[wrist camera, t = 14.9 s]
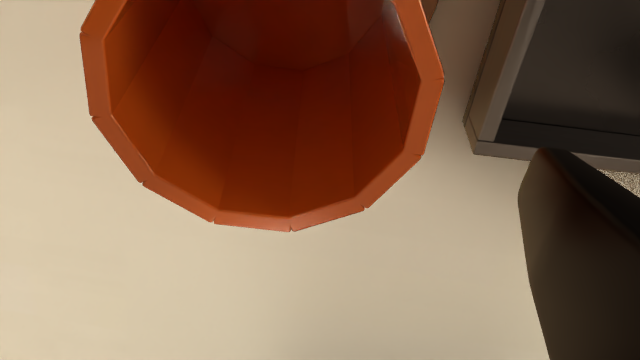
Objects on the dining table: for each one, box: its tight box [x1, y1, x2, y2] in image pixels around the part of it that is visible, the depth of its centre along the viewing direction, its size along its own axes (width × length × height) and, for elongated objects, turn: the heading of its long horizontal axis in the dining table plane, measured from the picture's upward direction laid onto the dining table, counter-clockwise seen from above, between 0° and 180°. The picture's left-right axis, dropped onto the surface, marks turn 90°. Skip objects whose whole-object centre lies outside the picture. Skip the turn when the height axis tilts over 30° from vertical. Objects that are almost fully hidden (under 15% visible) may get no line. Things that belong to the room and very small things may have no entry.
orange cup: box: [80, 0, 444, 232], centre depth 13 cm, size 6×6×7 cm
